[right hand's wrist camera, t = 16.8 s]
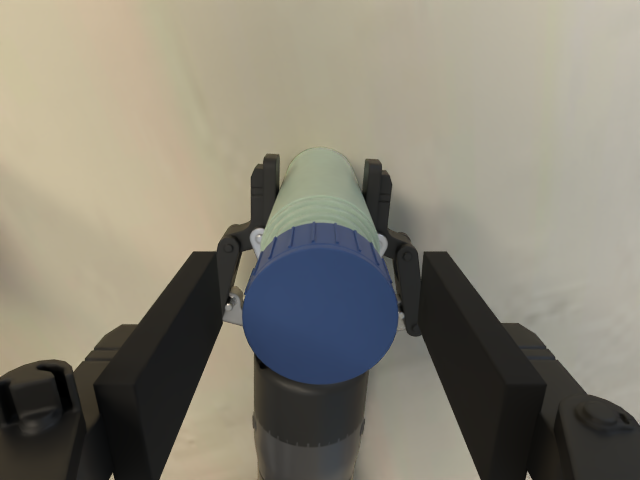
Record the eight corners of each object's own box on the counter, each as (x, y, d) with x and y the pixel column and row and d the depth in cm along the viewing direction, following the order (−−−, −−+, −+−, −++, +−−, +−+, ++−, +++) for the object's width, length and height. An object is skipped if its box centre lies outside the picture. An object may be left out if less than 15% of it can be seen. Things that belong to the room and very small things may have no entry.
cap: (304, 364, 16) (302, 410, 13) (224, 269, 14) (206, 303, 12) (413, 299, 15) (429, 338, 13) (337, 192, 13) (341, 214, 11)
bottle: (277, 157, 29) (217, 257, 12) (346, 139, 29) (383, 217, 12) (295, 222, 31) (266, 391, 14) (361, 206, 30) (413, 360, 13)
